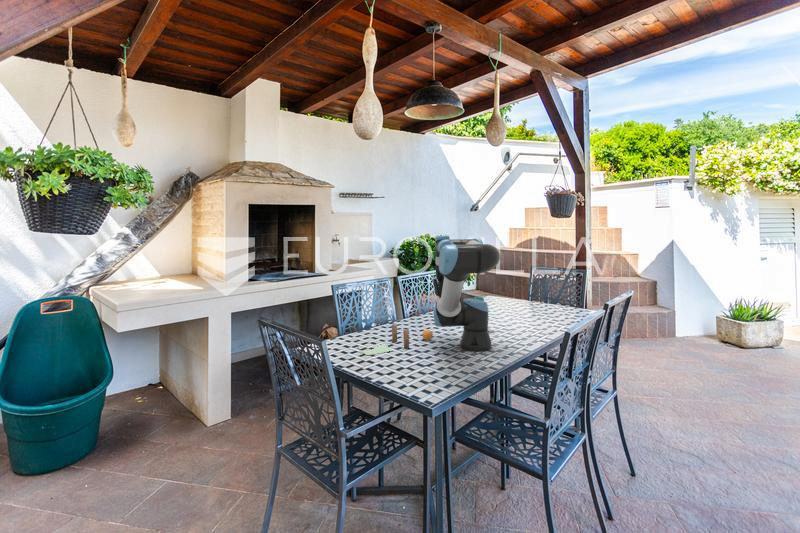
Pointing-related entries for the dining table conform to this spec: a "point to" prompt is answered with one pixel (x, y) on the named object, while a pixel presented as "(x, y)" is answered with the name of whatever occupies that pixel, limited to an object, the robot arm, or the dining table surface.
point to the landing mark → (378, 350)
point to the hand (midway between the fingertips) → (443, 308)
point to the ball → (427, 334)
